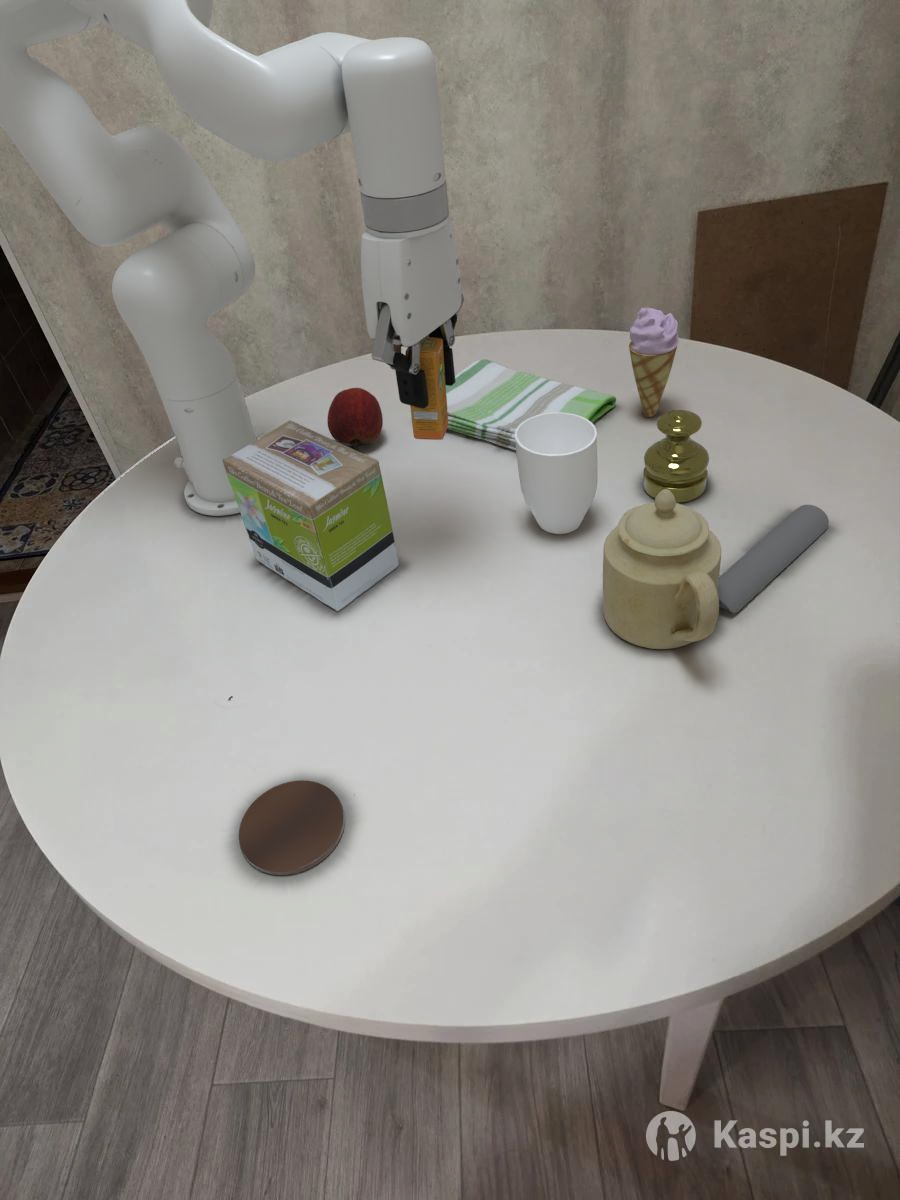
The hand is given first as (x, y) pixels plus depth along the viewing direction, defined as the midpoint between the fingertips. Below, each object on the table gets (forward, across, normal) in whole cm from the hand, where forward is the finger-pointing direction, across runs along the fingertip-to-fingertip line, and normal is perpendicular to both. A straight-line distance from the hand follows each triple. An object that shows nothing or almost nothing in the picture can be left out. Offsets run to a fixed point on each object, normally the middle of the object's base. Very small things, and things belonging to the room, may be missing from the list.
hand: (427, 391), depth 88 cm
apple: (+20, -13, -23) cm, 33 cm away
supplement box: (+5, 0, 0) cm, 5 cm away
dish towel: (+20, -28, -7) cm, 35 cm away
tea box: (+20, +10, -10) cm, 24 cm away
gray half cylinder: (+19, -11, +33) cm, 40 cm away
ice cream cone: (+19, -35, +10) cm, 41 cm away
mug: (+19, -10, +10) cm, 24 cm away
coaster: (+19, +39, +10) cm, 45 cm away
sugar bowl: (+19, +1, +28) cm, 34 cm away
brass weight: (+19, -21, +20) cm, 34 cm away
